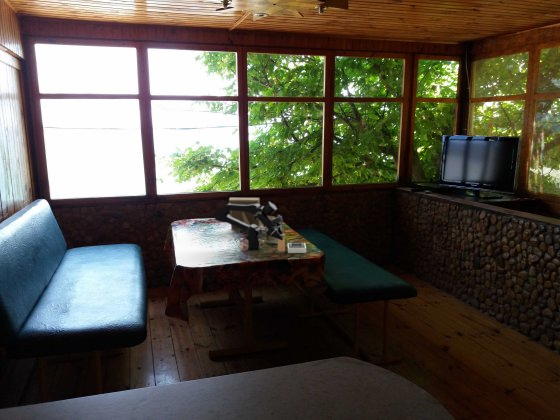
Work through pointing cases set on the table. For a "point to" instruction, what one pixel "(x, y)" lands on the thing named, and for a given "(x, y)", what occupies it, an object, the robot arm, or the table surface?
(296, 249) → the socket box
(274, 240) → the coffee box
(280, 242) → the plug
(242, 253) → the table surface
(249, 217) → the photo frame
